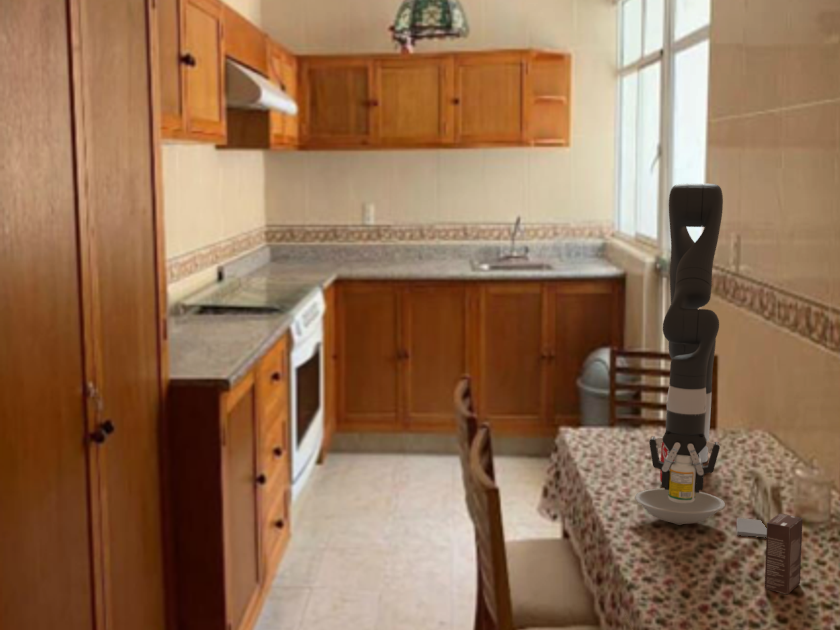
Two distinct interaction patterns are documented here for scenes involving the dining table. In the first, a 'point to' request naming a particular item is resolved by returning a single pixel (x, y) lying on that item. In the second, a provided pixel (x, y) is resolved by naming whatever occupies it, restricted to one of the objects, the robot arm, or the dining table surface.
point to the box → (783, 553)
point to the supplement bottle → (682, 480)
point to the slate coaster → (751, 527)
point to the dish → (679, 506)
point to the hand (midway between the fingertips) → (681, 489)
